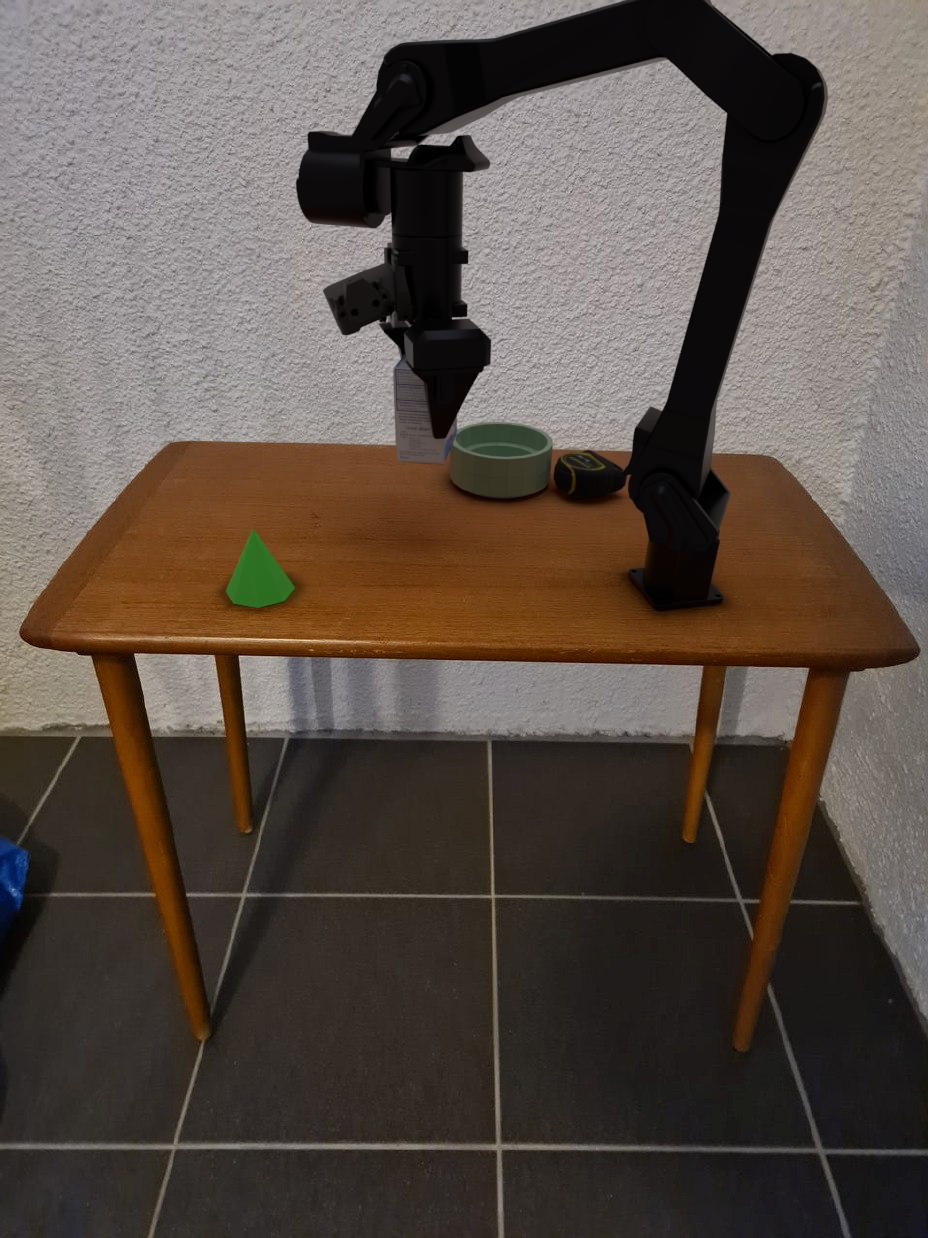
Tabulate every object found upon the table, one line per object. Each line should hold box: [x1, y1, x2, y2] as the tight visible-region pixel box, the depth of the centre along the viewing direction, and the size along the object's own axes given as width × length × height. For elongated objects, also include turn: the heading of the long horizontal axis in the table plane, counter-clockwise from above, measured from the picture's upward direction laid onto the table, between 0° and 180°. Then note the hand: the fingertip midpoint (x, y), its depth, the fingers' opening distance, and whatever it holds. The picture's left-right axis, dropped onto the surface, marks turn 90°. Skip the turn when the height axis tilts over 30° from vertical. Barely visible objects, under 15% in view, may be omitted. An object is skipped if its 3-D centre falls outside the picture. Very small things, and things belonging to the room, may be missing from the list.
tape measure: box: [553, 449, 628, 499], centre depth 90 cm, size 7×7×4 cm
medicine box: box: [392, 353, 458, 466], centre depth 74 cm, size 8×4×9 cm, turn 172°
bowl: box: [449, 421, 554, 499], centre depth 92 cm, size 11×11×5 cm
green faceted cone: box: [225, 528, 296, 609], centre depth 71 cm, size 6×6×6 cm
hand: (428, 420), depth 75 cm, fingers closed on medicine box, 9 cm apart
